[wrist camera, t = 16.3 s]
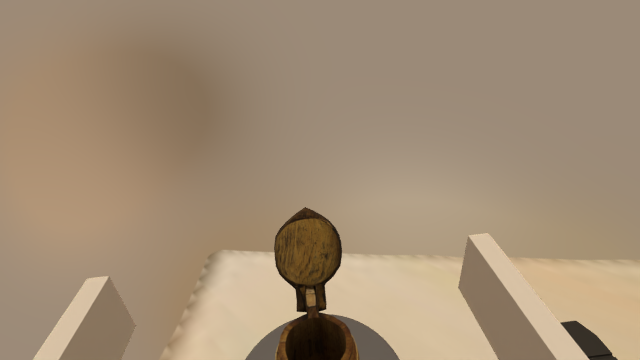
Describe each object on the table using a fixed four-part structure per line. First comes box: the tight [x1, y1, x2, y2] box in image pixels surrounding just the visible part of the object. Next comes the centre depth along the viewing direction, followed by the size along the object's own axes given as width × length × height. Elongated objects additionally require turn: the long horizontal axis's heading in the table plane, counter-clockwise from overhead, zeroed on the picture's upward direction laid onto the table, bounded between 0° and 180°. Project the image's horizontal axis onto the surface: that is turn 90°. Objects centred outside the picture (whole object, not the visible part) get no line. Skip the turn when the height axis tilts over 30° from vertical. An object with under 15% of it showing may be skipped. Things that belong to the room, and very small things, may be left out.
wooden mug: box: [274, 207, 360, 360], centre depth 30 cm, size 9×14×18 cm, turn 4°
